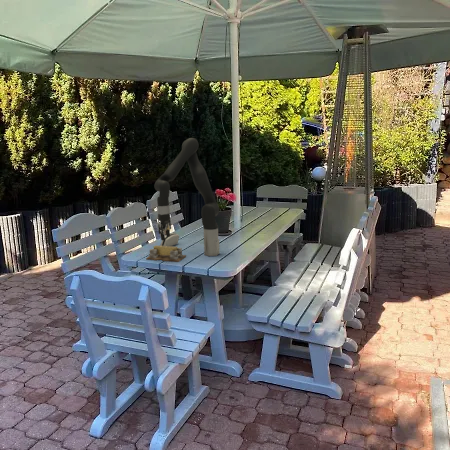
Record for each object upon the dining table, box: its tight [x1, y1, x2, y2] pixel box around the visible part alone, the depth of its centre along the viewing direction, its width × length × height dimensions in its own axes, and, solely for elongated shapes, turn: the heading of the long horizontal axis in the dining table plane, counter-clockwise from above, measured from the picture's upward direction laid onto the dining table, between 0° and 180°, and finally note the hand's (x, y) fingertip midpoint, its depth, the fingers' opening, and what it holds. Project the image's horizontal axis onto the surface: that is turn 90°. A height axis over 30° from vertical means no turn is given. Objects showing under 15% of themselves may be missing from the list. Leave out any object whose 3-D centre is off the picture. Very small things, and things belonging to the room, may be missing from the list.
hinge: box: [159, 232, 180, 247], centre depth 317 cm, size 17×5×10 cm, turn 150°
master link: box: [153, 244, 179, 255], centre depth 287 cm, size 15×3×5 cm, turn 73°
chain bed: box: [145, 247, 187, 263], centre depth 288 cm, size 22×12×6 cm, turn 72°
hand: (165, 238), depth 284 cm, fingers open, 8 cm apart
